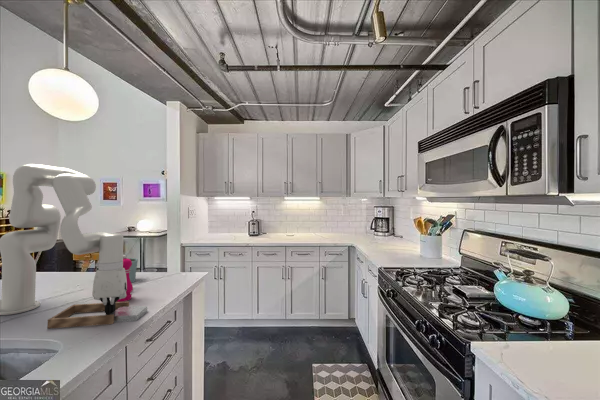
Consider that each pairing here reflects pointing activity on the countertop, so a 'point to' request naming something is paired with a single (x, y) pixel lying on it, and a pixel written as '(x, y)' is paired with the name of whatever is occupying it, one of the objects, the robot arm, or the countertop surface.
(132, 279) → the drinking glass
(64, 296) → the countertop surface
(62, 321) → the wooden u-shaped frame
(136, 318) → the cover plate
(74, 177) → the robot arm
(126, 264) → the pepper mill
